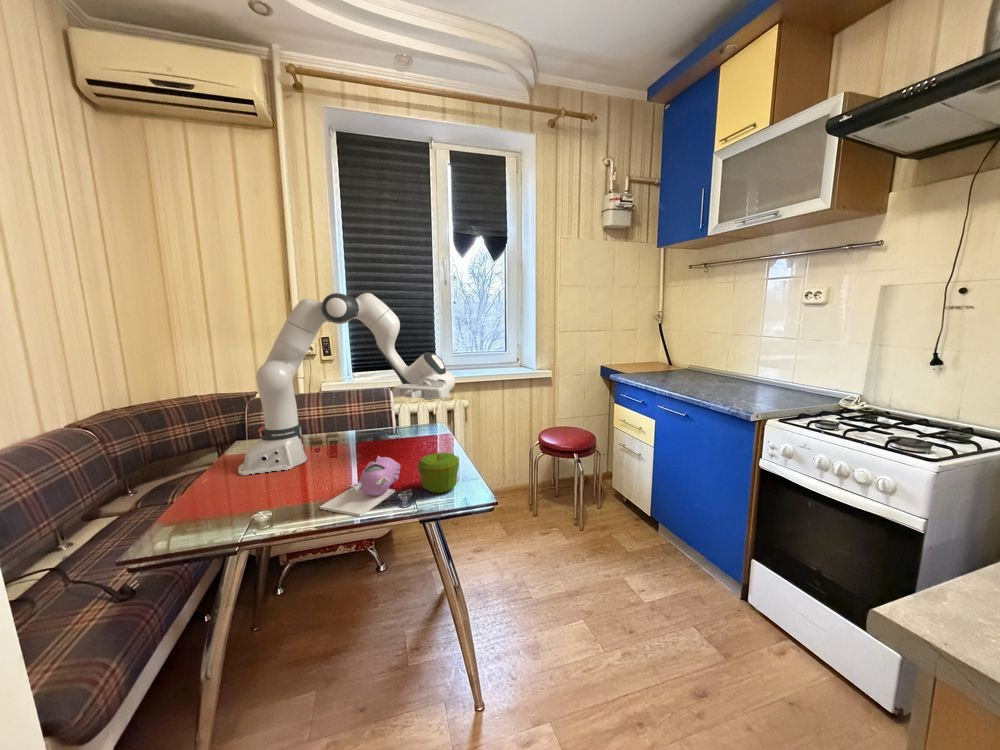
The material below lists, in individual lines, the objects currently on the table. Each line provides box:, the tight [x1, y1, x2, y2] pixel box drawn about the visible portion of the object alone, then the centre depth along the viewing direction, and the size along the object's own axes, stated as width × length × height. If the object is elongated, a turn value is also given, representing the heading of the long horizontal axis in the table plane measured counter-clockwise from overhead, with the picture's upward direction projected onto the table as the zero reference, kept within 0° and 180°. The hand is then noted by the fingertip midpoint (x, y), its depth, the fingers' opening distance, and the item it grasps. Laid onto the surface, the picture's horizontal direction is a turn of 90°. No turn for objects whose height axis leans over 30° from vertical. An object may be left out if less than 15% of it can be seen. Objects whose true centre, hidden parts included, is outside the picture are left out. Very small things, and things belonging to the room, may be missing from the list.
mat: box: [319, 487, 396, 517], centre depth 122 cm, size 16×14×1 cm
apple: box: [417, 452, 460, 494], centre depth 128 cm, size 12×12×11 cm
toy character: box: [346, 455, 402, 496], centre depth 125 cm, size 12×10×20 cm
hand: (408, 395), depth 145 cm, fingers closed
